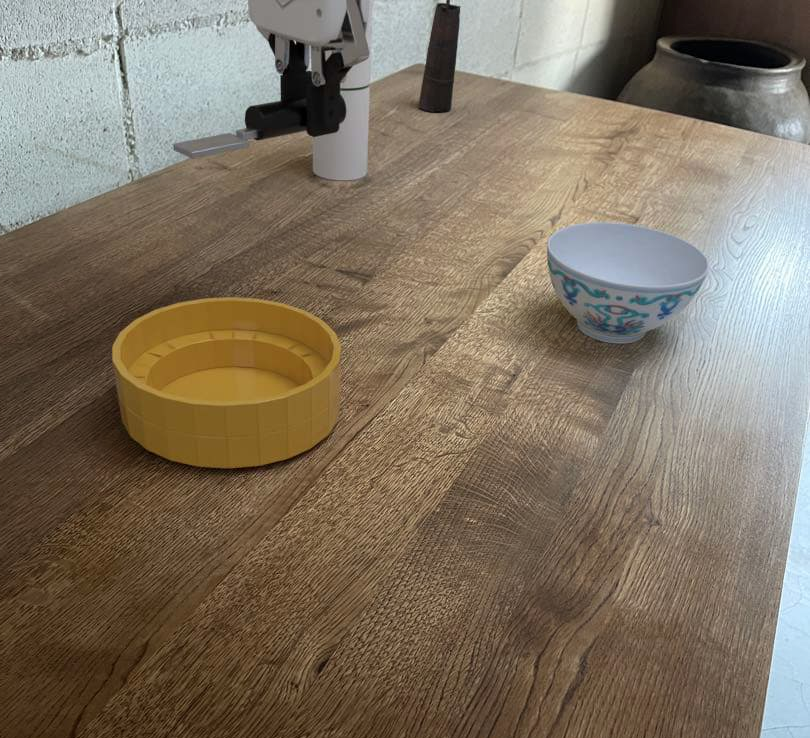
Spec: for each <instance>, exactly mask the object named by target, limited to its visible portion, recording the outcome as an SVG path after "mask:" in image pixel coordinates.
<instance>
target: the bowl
mask: <svg viewBox="0 0 810 738" xmlns="http://www.w3.org/2000/svg"><path fill="white" fill-rule="evenodd" d="M111 361H112V366H113V373H114V380H115V386H116V393H117V398H118V405H119V410H120V417H121V422H122V424H123V426H124V428H125V429H126V431H127V433H128V435H129V436H130V438H131V439H133V441H135V442H136V443H138V444H139V445H140V446H141V447H142V448H144V449H145V450H146V451H148V452H150V453H152V454H155V455H157V456H159V457H162V458H163V459H165V460H168V461H171V462H176V463H179V464H185V465H189V466H193V467H200V468H213V469H237V468H238V469H240V468H250V467H251V468H252V467H259V466H264V465H269V464H273V463H276V462H277V463H278V462H280V461H285V460H288V459H291V458H293V457H295V456H298V455H300V454H302V453H304V452H306V451H308V450H311V449H312V448H313V447H315V446H316V445H318V444H319V443H320V442H322V441H323V440H324V439H326V437H328V436H329V435H330V433H331V432H332V430H333V429H334V427H335V426H336V424H337V423H338V421H339V417H340V412H341V411H340V410H341V389H342V388H341V387H342V385H341V384H342V383H341V382H342V344H341V342H340V340H339V337H338V335H337V333H336V332H335V331H334V330H333V328H331V326H330V325H328V324H327V322H325V321H324V320H323V319H321V318H319V317H317V316H316V315H314V314H312V313H310V312H309V311H306V310H304V309H301V308H298V307H295V306H293V305H290V304H286V303H283V302H278V301H272V300H266V299H262V298H251V297H236V296H235V297H234V296H227V297H226V296H225V297H206V298H199V299H192V300H187V301H181V302H176V303H173V304H170V305H166V306H163V307H160V308H157V309H154V310H152V311H150V312H148V313H146V314H144V315H142V316H140V317H138V318H135V319H134V320H133V321H132V322H131V323H129V324H128V325H127V326H126V327H124V329H122V330H121V331H120V332H119V333H118V335H117V337H116V338H115V340H114V342H113V344H112V346H111Z"/></svg>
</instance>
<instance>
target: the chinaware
mask: <svg viewBox="0 0 810 738" xmlns="http://www.w3.org/2000/svg"><path fill="white" fill-rule="evenodd" d="M546 257H547V258H546V259H547V268H548V273H549V279H550V281H551V284H552V287H553V289H554V293H555V294H556V296H557V298H558V300H559V302H560V303H561V304H562V306H563V307H564V308H565V309H566V311H567V312H568V313H569V314H570V315H571V316H572V317H573V318H575V319H576V325H577V328H578V330H580V332H582V333H583V334H584V335H586V336H587V337H589V338H592V339H593V340H597V341H600V342H604V343H609V344H616V345H617V344H619V345H623V344H632V343H635V342H638V341H640V340H641V339H643V338H644V337H645V336H646V333H647V332H649V331H652V330H654V329H657V328H659V327H662V326H663V325H665V324H666V323H668V322H670V321H671V320H673V319H674V318H675V317H677V316H678V315H679V314H680V313H681V312H682V311H683V310H684V309H685V308H686V307H687V306H688V305H689V304H690V303H691V301H693V299H694V298H695V296H696V294H697V293H698V292H699V290H700V289H701V287H702V285H703V283H704V281H705V280H706V277H707V275H708V273H709V271H710V261H709V259H708V257H707V255H706V254H705V253H704V252H703V251H702V250H701V249H700V248H698V247H697V246H696V245H694V244H693V243H691V242H689V241H687V240H686V239H683V238H681V237H679V236H677V235H674V234H671V233H669V232H665V231H663V230H659V229H655V228H653V227H647V226H644V225H637V224H632V223H623V222H610V221H609V222H608V221H595V222H584V223H583V222H582V223H576V224H572V225H567V226H564V227H562V228H560V229H558V230H556V231H555V232H553V233H552V234H551V235H550V237H548V240H547V243H546Z"/></svg>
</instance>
